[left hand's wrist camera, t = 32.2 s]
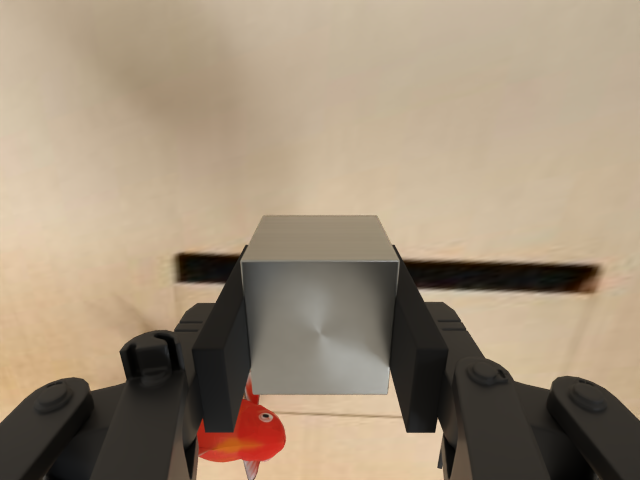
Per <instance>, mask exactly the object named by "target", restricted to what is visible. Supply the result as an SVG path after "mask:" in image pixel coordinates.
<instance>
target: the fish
mask: <svg viewBox="0 0 640 480" xmlns="http://www.w3.org/2000/svg"><path fill="white" fill-rule="evenodd" d="M244 393H245V398H246V399H242V402H241V406H240V410H239V414H238V418H237V421H236V425H235V429H234V433H205V429H204V423H203V419H202V421H201V424H200V427H199V429H198V432H197V438H198V444H199V452H198V457H201V458H203V459H206V460H209V461H214V462H229V461H234V460H238V459H242V460H243V461H244V465H245V470H246V473H247V477H248V480H254V479H255V477H256V475H257V472H258V467H259V464H260V461H264V462H265V461H268V460H270V459H271V458H272V457H273V456H274V455H276V454H277V453H278V452H279V451H281V450H282V449H283V447H284V445H285V442H286V435H285V430H284V426H283V424H282V423H281V421H280V419H279V418H278V416H277V415H275V414H274V413H273V412H271V411H270V410H268V409H266V408H264V407H263V406H261V405H258V404H259V395H254V394H253V392H252V382H251V371H250V372H249V375H248V379H247V383H246V387H245V391H244Z"/></svg>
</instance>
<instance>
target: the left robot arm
mask: <svg viewBox="0 0 640 480" xmlns="http://www.w3.org/2000/svg"><path fill="white" fill-rule="evenodd" d="M392 246H393V248H394V250H395V252H396V254H397V256H398V258H399V260H400V265H399V276H398V287H397V296H396V306H395V317H394V328H393V339H392V350H391V361H390V371H391V374H392V378H393V382H394V386H395V390H396V394H397V397H398V401H399V405H400V409H401V413H402V417H403V420H404V424H405V428H406V432H407V433H435V430H436V424H437V418H438V419H439V422H440V424H441V427H442V430H443V438H442V444H441V449H440V455H439V461H438V467H437V468H440V469H442V466H443V474H444V480H640V421H639V420H638V419H637V418H636V417H635V416H634V415H633V414H632V413H631V412H630V411H629V410H628V409H627V408H626V407H625V406H624V405H623V404H622V403H621V402H620V401H619V400H618V399H617V398H616V397H615V396H614V395H612V394H611V393H610V392H609V391H607V390H606V389H605V388H603V387H601V386H599V385H597V384H595V383H593V382H591V381H588V380H585V379H582V378H579V377H572V376H564V377H558V378H557V379H555V380H554V381H553V382H552V385H551V389H550V390H548V389H544V388H539V387H535V386H531V385H526V384H522V383H519V382H516V381H514V380H513V378H512V377H511V375H510V373H509V372H508V371H507V370H506V369H505V368H503V367H502V366H501V365H499V364H497V363H495V362H493V361H491V360H489V359H485V357H484V356H483V354H482V352H481V351H480V349H479V348H478V346H477V345H476V343H475V342H474V340H473V339H472V337H471V335H470V334H469V332H468V331H466V328H465V326H464V325H463V323H462V322H461V320H460V318H459V317H458V315H457V314H456V312H455V311H454V310H453V309H452V308H450V307H449V306H448V305H446V304H445V303H443V302H424V300H423V299H422V297H421V295H420V293H419V291H418V289H417V287H416V285H415V283H414V281H413V279H412V277H411V276H410V274H409V272H408V270H407V268H406V266H405V264H404V262H403V260H402V258H401V256H400V254H399V252H398V251H397V249H396V247H395V245H392ZM247 247H248V245H245V247H244V249H243V251H242V253H241V255H240V257H239V259H238V261H237V263H236V265H235V266H234V268H233V270H232V272H231V274H230V276H229V278H228V280H227V282H226V284H225V286H224V288H223V289H222V291H221V293H220V295H219V297H218V299H217V301H216V303H197V304H196V305H194V306H193V307H192V308H190V309H189V310H188V311H186V312H185V314H184V315H183V317H182V319H181V320H180V323H179V324H178V325H177V326H176V328H175V330H174V332H171V331H168V330H156V331H151V332H147V333H144V334H141V335H139V336H137V337H134V338H133V339H131V340H130V341H129V342H127V343H126V344H125V345H124V346H123V347H122V349H121V350H120V351H119V352H120V355H121V359H122V363H123V367H124V371H125V375H126V379H127V380H126V383H123V384H119V385H116V386H112V387H107V388H103V389H98V390H94V391H90V388H89V384H88V383H87V382H86V381H85V380H84V379H81V378H75V377H72V378H64V379H60V380H57V381H54V382H51V383H48V384H46V385H44V386H43V387H41V388H39V389H37V390H35V391H34V392H33V393H32V394H30V395H29V396H28V397H27V398H25V399H24V400H23V401H22V402H21V403H20V404H19V405H18V406H17V407H16V408H15V409H14V410H13V411H12V412H11V413H10V414H9V415H8V416H7V417H6V418H5V419H4V420H3V421H2V422H1V423H0V480H196V475H197V463H198V452H199V444H198V438H197V432H198V429H199V427H200V424H201V421H202V419H203V423H204V429H205V433H234V429H235V425H236V421H237V418H238V414H239V410H240V406H241V402H242V398H243V395H244V391H245V387H246V383H247V379H248V375H249V372H250V358H249V347H248V336H247V325H246V314H245V303H244V296H243V285H242V274H241V264H240V261H241V259H242V257H243V255H244V253H245V251H246V249H247ZM599 478H600V479H599Z"/></svg>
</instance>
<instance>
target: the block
mask: <svg viewBox="0 0 640 480" xmlns="http://www.w3.org/2000/svg"><path fill="white" fill-rule="evenodd" d="M240 264H241V274H242V285H243V296H244V303H245V314H246V325H247V336H248V347H249V358H250V371H251V382H252V392H253V394H254V395H386V394H388V386H389V375H390V361H391V350H392V339H393V328H394V317H395V306H396V296H397V287H398V276H399V265H400V260H399V258H398V256H397V254H396V252H395V250H394V248H393V246H392V244H391V242H390V240H389V238H388V236H387V234H386V232H385V230H384V228H383V226H382V224H381V222H380V220H379V218H378V216H376V215H264V216H263V217H262V219H261V221H260V223H259V225H258V227H257V229H256V231H255V233H254V235H253V237H252V239H251V241H250V243H249V245H248V247H247V249H246V251H245V253H244V255H243V257H242V259H241V261H240Z"/></svg>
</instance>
